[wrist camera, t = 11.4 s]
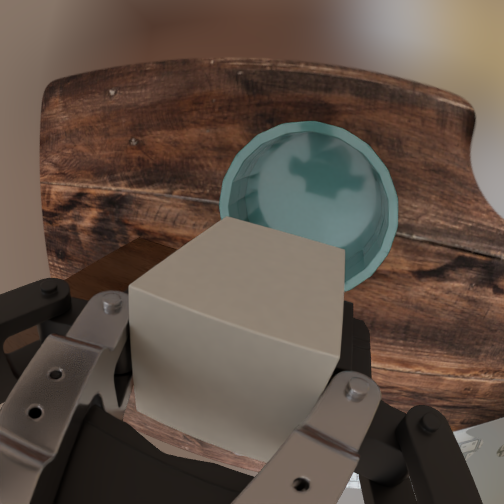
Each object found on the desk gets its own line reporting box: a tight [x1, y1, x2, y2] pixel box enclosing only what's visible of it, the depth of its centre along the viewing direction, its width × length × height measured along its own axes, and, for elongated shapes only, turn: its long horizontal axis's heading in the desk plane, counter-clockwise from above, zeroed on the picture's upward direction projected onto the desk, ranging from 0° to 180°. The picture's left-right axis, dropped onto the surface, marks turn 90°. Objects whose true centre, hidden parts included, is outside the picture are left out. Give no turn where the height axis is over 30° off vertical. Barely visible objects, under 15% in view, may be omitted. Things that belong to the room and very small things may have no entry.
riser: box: [3, 238, 177, 353], centre depth 25 cm, size 7×7×22 cm
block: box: [129, 216, 345, 463], centre depth 9 cm, size 4×4×6 cm
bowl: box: [219, 121, 398, 292], centre depth 25 cm, size 14×14×5 cm
